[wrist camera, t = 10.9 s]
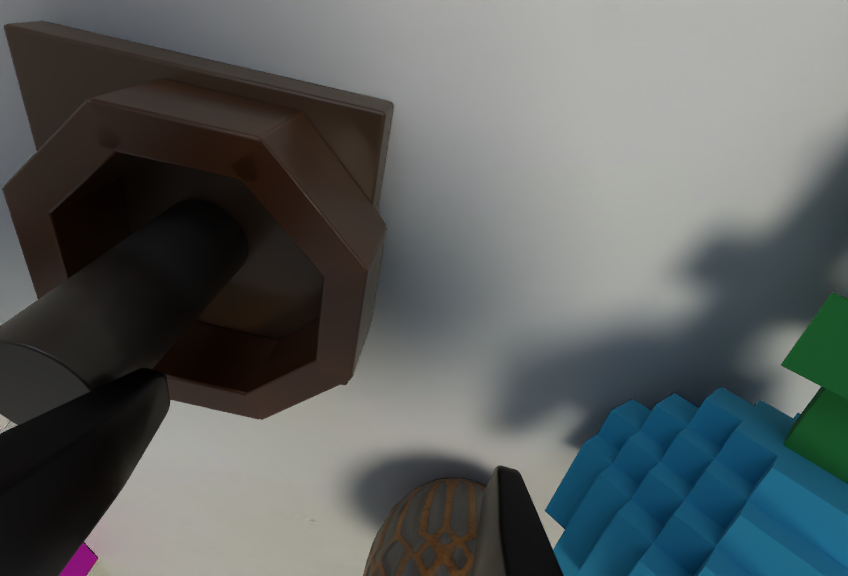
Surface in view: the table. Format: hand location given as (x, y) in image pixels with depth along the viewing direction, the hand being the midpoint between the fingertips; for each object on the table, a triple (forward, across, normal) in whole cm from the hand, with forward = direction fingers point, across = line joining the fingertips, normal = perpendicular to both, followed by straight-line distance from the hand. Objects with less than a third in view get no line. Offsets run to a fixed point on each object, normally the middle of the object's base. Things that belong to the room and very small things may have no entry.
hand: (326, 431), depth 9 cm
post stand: (+6, +5, 0) cm, 8 cm away
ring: (+5, +4, 0) cm, 7 cm away
